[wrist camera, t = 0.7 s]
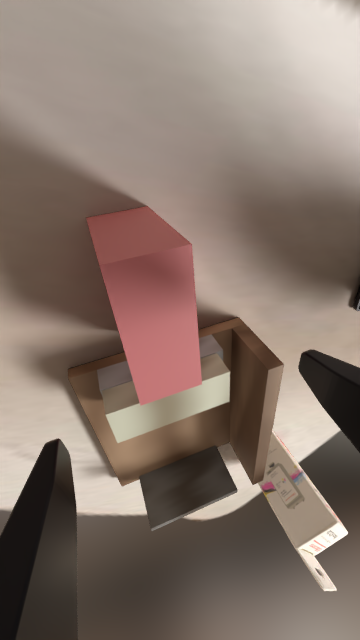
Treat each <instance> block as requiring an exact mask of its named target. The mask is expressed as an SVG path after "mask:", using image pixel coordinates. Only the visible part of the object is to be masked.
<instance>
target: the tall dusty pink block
mask: <svg viewBox="0 0 360 640" xmlns="http://www.w3.org/2000/svg"><path fill="white" fill-rule="evenodd" d="M86 219H87V223H88V227H89V230H90V234H91V237H92V241H93V244H94V248H95V252H96V255H97V259H98V262H99V266H100V269H101V273H102V276H103V280H104V283H105V286H106V290H107V293H108V297H109V300H110V303H111V307H112V310H113V314H114V317H115V321H116V324H117V327H118V331H119V334H120V338H121V341H122V344H123V348H124V351H125V355H126V358H127V361H128V365H129V368H130V372H131V375H132V378H133V382H134V385H135V389H136V392H137V396H138V399H139V402H140V406H142V405H144V404H147V403H150V402H153V401H156V400H159V399H162V398H164V397H167V396H170V395H173V394H176V393H179V392H182V391H184V390H187V389H190V388H193V387H196V386H199V385H202V377H201V363H200V350H199V336H198V322H197V309H196V295H195V282H194V268H193V255H192V244H191V243H190V242H189V241H187V240H186V239H185V238H184V237H183V236H182V235H180V234H179V233H178V232H177V231H176V230H175V229H174V228H172V227H171V226H170V225H169V224H168V223H167V222H165V221H164V220H163V219H162V218H161V217H160V216H158V215H157V214H156V213H155V212H154V211H153V210H151V209H150V208H149V207H148V206H146V207H140V208H135V209H130V210H124V211H119V212H114V213H109V214H103V215H98V216H93V217H87V218H86Z"/></svg>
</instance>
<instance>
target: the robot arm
mask: <svg viewBox="0 0 360 640" xmlns="http://www.w3.org/2000/svg"><path fill="white" fill-rule="evenodd" d="M353 308H354V309H355V310H356V311H360V288H359V291H358V294H357V297H356V300H355V303H354V306H353ZM299 372H300V374H301V375H302V377H303V378H304V380H305V381H306V383H307V384H308V386H309V387H310V389H311V390H312V392H313V393H314V395H315V396H316V398H317V399H318V401H319V402H320V404H321V405H322V407H323V408H324V409H325V410H326V412H327V413H328V414H329V415H330V417H331V418H332V419H333V420H334V422H335V423H336V424H337V425H338V427H339V428H340V429H341V430H342V432H343V433H344V434H345V435H346V436H347V438H348V439H349V440H350V441H351V443H352V444H353V445H354V446H355V448H356V449H357V450H358V451H359V453H360V368H359V367H356V366H354V365H351V364H349V363H346V362H344V361H341V360H339V359H336V358H334V357H331V356H329V355H326V354H323V353H321V352H318V351H316V350H308V351H305V352H303V353H302V354H301V358H300V362H299ZM77 611H78V610H77V514H76V500H75V492H74V484H73V476H72V468H71V459H70V455H69V452H68V450H67V449H66V447H65V445H64V444H63V442H62V441H61V440H60V439H55V440H52V441H49V442H47V443H46V444H45V445H44V447H43V449H42V451H41V453H40V455H39V457H38V459H37V461H36V463H35V465H34V467H33V469H32V471H31V473H30V475H29V478H28V480H27V482H26V484H25V486H24V488H23V490H22V492H21V494H20V496H19V498H18V500H17V502H16V504H15V506H14V508H13V510H12V512H11V514H10V517H9V519H8V521H7V523H6V525H5V527H4V529H3V531H2V533H1V535H0V640H78V615H77V614H78V612H77Z"/></svg>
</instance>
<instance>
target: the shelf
mask: <svg viewBox="0 0 360 640" xmlns="http://www.w3.org/2000/svg"><path fill="white" fill-rule="evenodd" d="M198 336H199V350H200V363H201V377H202V385H199V386H196V387H193V388H190V389H187V390H184V391H182V392H179V393H176V394H173V395H170V396H167V397H164V398H162V399H159V400H156V401H153V402H150V403H147V404H144V405H142V406H140V402H139V399H138V396H137V392H136V389H135V385H134V382H133V378H132V375H131V372H130V368H129V365H128V361H127V358H126V355H125V352H123V353H120V354H117V355H113V356H110V357H107V358H103V359H100V360H97V361H93V362H90V363H87V364H84V365H80V366H77V367H74V368H70V369H68V379H69V381H70V383H71V385H72V387H73V389H74V391H75V393H76V395H77V397H78V399H79V401H80V403H81V405H82V407H83V409H84V411H85V413H86V415H87V417H88V419H89V421H90V423H91V425H92V427H93V429H94V431H95V433H96V435H97V437H98V439H99V441H100V443H101V445H102V447H103V449H104V451H105V453H106V456H107V458H108V460H109V462H110V464H111V466H112V468H113V470H114V472H115V474H116V476H117V478H118V480H119V482H120V484H121V486H124V485H127V484H129V483H131V482H134V481H136V480H139V479H140V483H141V487H142V492H143V496H144V501H145V505H146V510H147V514H148V519H149V523H150V528H151V531H153V530H156V529H158V528H160V527H162V526H164V525H166V524H168V523H171V522H173V521H175V520H177V519H179V518H182V517H184V516H186V515H188V514H191V513H193V512H195V511H197V510H199V509H201V508H204V507H206V506H208V505H210V504H212V503H215V502H217V501H219V500H221V499H223V498H226V497H228V496H230V495H232V494H234V493H236V492H237V488H236V486H235V484H234V482H233V480H232V478H231V476H230V474H229V472H228V469H227V467H226V465H225V463H224V461H223V459H222V457H221V455H220V453H219V451H218V449H217V447H219V446H222V445H224V444H226V443H229V442H230V444H231V446H232V447H233V449H234V451H235V453H236V455H237V457H238V458H239V460H240V462H241V464H242V466H243V468H244V470H245V471H246V473H247V475H248V477H249V479H250V481H251V483H252V484H253V485H254V484H256V483H258V482H260V481H263V478H264V472H265V467H266V461H267V456H268V450H269V445H270V439H271V434H272V428H273V423H274V417H275V412H276V406H277V401H278V395H279V390H280V384H281V379H282V373H283V367H284V364H283V363H282V362H281V361H280V360H279V359H278V358H277V357H276V355H275V354H274V353H273V352H272V351H271V350H270V349H269V348H268V347H267V346H266V345H265V344H264V343H263V342H262V341H261V340H260V339H259V338H258V337H257V336H256V335H255V334H254V332H253V331H252V330H251V329H250V328H249V327H248V326H247V325H246V324H245V323H244V322H243V321H242V320H241V319H240V318H235V319H232V320H229V321H226V322H222V323H219V324H216V325H212V326H209V327H206V328H202V329H199V330H198Z"/></svg>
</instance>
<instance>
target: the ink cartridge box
mask: <svg viewBox="0 0 360 640" xmlns="http://www.w3.org/2000/svg"><path fill="white" fill-rule="evenodd" d="M258 484H259V486H260V488H261V489H262V491H263V493H264V494H265V496H266V498H267V500H268V502H269V504H270V505H271V507H272V509H273V511H274V512H275V514H276V516H277V518H278V519H279V521H280V523H281V525H282V526H283V528H284V530H285V532H286V533H287V535H288V537H289V539H290V541H291V542H292V544H293V546H294V547H295V549H296V550H297V552H298V553H299V555H300V556H301V558H302V559H303V561H304V563H305V564H306V566H307V567H308V569H309V570H310V572H311V573H312V575H313V576H314V578H315V579H316V581H317V583H318V584H319V586H320V587H321V588H322V590H323V591H336V587H335V586H334V584H333V583H332V581H331V580H330V578H329V577H328V576H327V574H326V573H325V571H324V570H323V568H322V567H321V565H320V564H319V563H318V561H317V560H316V559H315V557H314V556H315V555H317V554H318V553H320V552H321V551H323V550H324V549H326V548H327V547H329V546H330V545H332V544H333V543H335V542H336V541H338V540H339V539H341V538H343V537H344V536H345V535H347V534H348V532H347V530H346V529H345V527H344V526H343V525H342V523H341V521H340V520H339V519H338V517H337V516H336V514H335V513H334V512H333V511H332V509H331V508H330V506H329V505H328V504H327V502H326V501H325V499H324V498H323V497H322V495H321V494H320V493H319V491H318V490H317V489H316V488H315V486H314V485H313V483H312V482H311V481H310V479H309V478H308V476H307V475H306V474H305V472H304V471H303V470H302V468H301V467H300V466H299V464H298V463H297V461H296V460H295V459H294V457H293V456H292V455H291V453H290V452H289V450H288V449H287V448H286V446H285V445H284V444H283V442H282V441H281V440H280V439H279V438H278V436H277V435H276V434H275V433H274V431H273V430H272V434H271V439H270V445H269V450H268V456H267V461H266V467H265V472H264V478H263V481H260V482H258ZM315 568H317V569H318V570H319V572H320V573H321V575H322V576H320V575H319V574H318V573H317V572H316V570H315Z"/></svg>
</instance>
